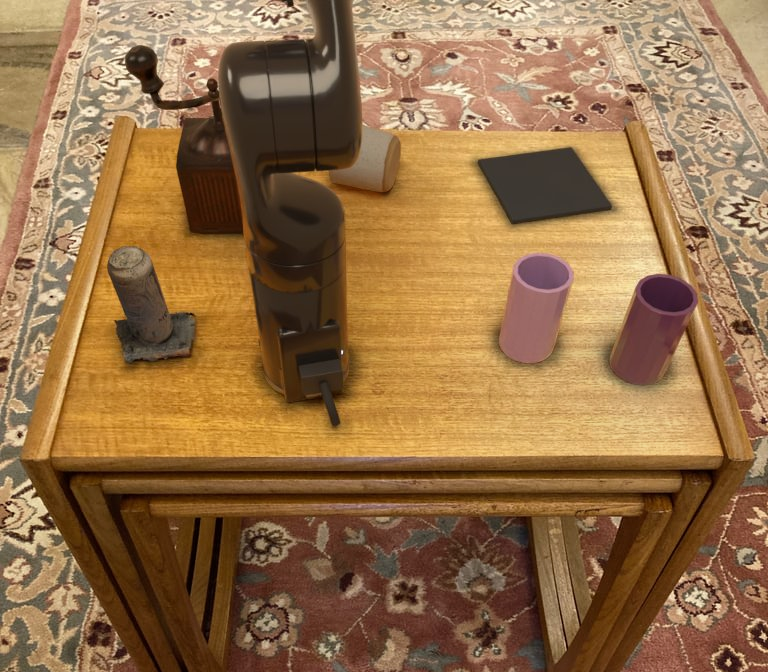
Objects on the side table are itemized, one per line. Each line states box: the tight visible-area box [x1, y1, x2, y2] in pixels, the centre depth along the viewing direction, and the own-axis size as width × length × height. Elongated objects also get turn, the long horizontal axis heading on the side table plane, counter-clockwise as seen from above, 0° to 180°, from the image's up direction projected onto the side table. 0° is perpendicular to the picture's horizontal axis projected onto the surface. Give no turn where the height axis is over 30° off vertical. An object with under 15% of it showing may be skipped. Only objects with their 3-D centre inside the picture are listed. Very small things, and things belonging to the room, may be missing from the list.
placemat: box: [477, 146, 613, 225], centre depth 103 cm, size 14×14×1 cm
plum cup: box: [608, 273, 699, 386], centre depth 81 cm, size 6×6×10 cm
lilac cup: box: [498, 252, 575, 364], centre depth 82 cm, size 6×6×10 cm
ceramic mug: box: [328, 124, 402, 193], centre depth 100 cm, size 11×8×8 cm
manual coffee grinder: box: [124, 44, 244, 235], centre depth 91 cm, size 16×11×18 cm
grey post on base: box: [106, 245, 197, 365], centre depth 80 cm, size 9×8×12 cm
